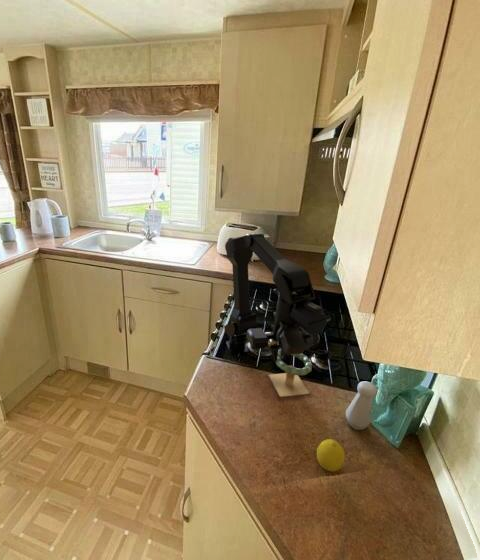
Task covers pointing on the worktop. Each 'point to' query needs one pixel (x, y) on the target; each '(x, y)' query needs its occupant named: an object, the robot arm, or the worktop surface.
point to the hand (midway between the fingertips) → (278, 360)
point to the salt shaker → (361, 406)
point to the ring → (295, 370)
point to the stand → (288, 384)
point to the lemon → (330, 455)
